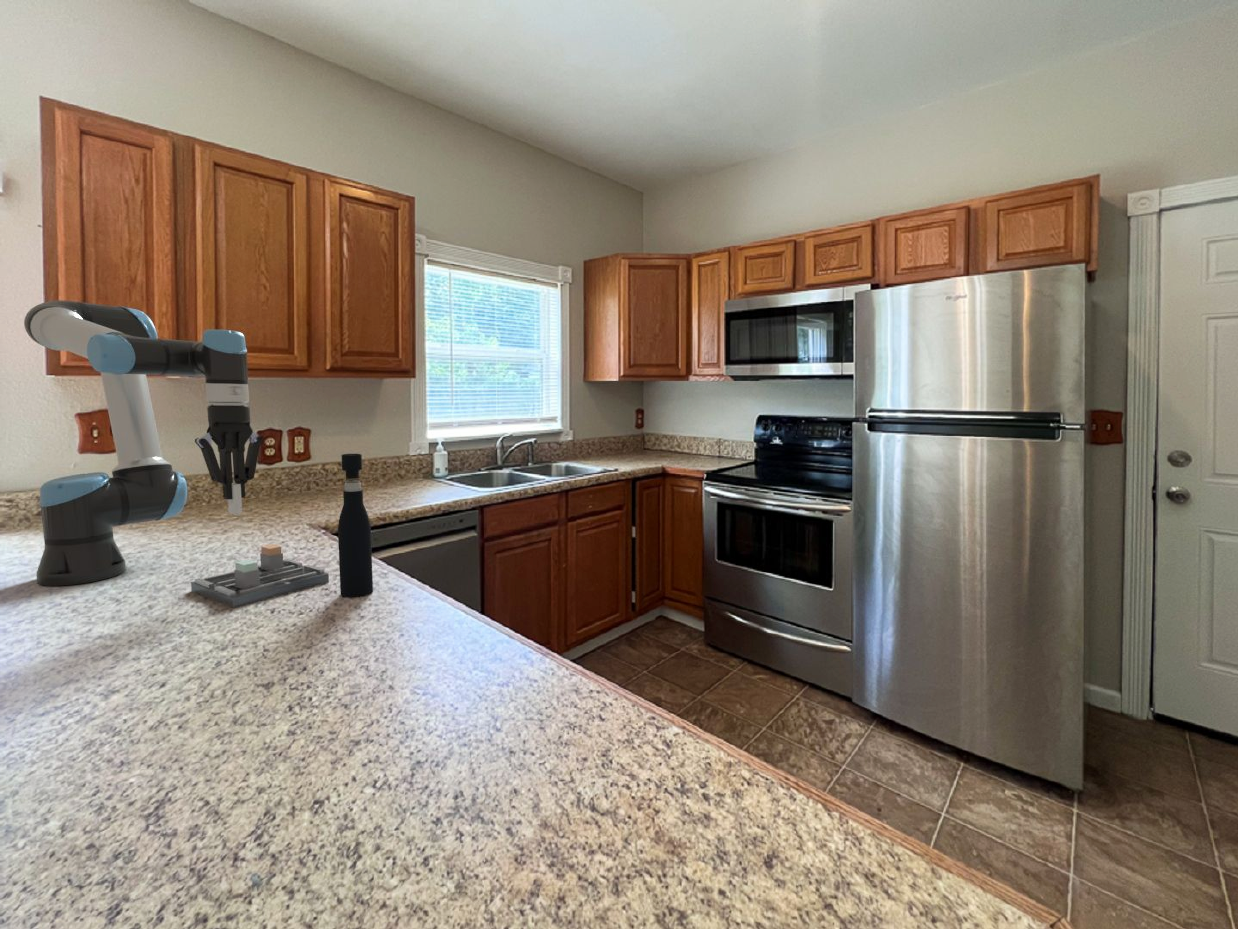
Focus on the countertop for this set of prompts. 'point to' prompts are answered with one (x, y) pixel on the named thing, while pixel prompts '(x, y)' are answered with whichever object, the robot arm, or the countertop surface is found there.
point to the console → (270, 584)
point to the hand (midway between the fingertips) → (235, 513)
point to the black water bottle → (354, 535)
